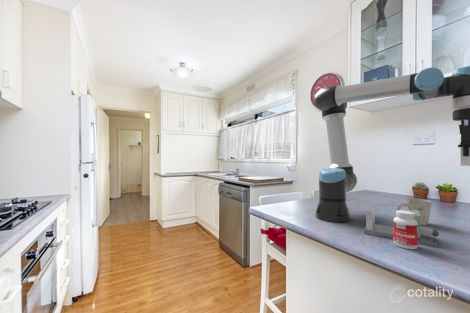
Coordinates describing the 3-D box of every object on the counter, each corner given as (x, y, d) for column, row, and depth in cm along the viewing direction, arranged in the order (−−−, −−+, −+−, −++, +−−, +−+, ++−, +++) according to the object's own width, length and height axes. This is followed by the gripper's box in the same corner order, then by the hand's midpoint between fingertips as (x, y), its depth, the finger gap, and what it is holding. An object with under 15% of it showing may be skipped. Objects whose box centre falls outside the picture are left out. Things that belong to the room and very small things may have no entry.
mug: (436, 226, 87) (436, 202, 87) (402, 224, 90) (402, 201, 90) (423, 220, 95) (423, 198, 95) (392, 219, 98) (391, 197, 98)
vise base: (364, 233, 80) (364, 211, 80) (367, 226, 88) (367, 206, 88) (437, 246, 67) (436, 220, 67) (433, 237, 75) (433, 213, 75)
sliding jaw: (412, 236, 71) (412, 214, 72) (411, 229, 79) (411, 209, 79) (440, 241, 67) (440, 218, 67) (437, 233, 74) (436, 212, 74)
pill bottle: (392, 246, 68) (392, 212, 68) (394, 240, 73) (393, 208, 73) (418, 251, 64) (417, 215, 64) (417, 245, 69) (417, 211, 69)
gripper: (482, 101, 68) (482, 166, 68) (482, 112, 85) (482, 164, 85) (449, 105, 74) (449, 165, 74) (455, 114, 90) (455, 164, 90)
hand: (466, 165), depth 79 cm, fingers open, 13 cm apart
